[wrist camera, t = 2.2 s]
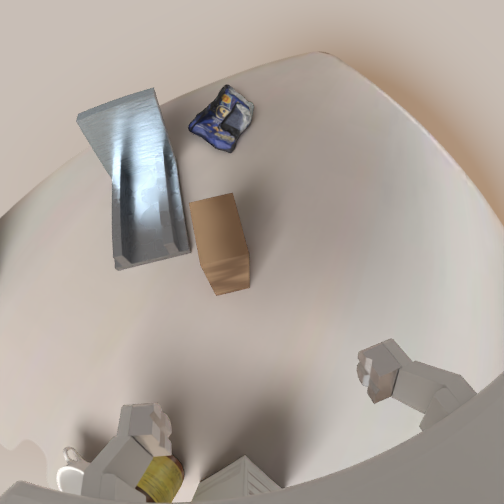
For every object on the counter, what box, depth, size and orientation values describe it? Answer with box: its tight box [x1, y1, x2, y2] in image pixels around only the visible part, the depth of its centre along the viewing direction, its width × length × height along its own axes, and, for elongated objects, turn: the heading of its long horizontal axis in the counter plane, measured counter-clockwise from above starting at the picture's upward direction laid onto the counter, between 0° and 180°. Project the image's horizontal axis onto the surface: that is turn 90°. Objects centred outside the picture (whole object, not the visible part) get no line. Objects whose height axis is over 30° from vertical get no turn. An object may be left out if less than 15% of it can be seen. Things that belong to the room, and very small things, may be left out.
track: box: [76, 88, 191, 271], centre depth 30 cm, size 10×16×14 cm, turn 14°
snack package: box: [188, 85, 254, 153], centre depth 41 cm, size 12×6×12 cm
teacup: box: [57, 447, 90, 495], centre depth 21 cm, size 10×8×5 cm
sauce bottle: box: [135, 455, 184, 503], centre depth 15 cm, size 6×6×20 cm
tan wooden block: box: [189, 193, 250, 296], centre depth 29 cm, size 4×6×11 cm, turn 14°
